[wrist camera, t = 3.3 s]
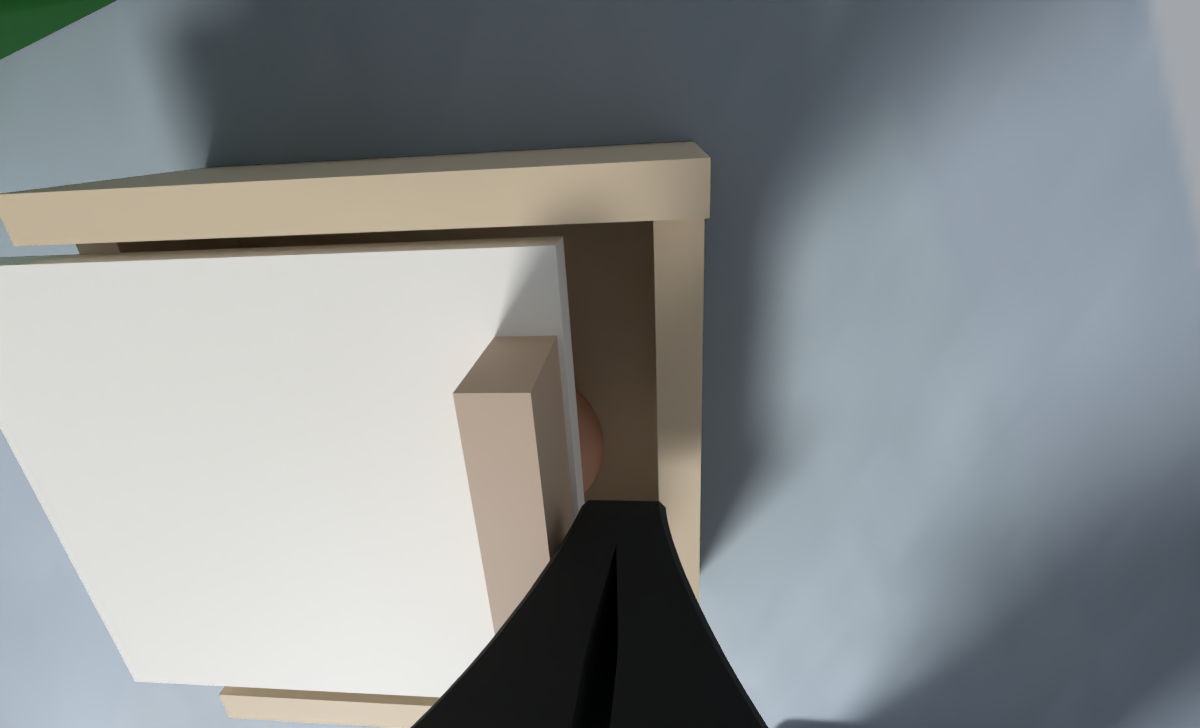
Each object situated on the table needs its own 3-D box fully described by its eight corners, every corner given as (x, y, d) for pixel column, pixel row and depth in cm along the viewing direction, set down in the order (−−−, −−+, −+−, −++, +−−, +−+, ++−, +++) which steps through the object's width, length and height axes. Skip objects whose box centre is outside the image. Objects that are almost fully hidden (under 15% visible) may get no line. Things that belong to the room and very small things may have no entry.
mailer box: (690, 586, 17) (699, 746, 13) (330, 575, 18) (229, 718, 14) (693, 140, 12) (711, 158, 8) (203, 167, 13) (-10, 194, 9)
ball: (611, 464, 15) (600, 546, 12) (495, 464, 15) (458, 543, 12) (606, 354, 13) (591, 417, 11) (480, 356, 14) (435, 418, 11)
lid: (598, 676, 13) (583, 808, 11) (158, 655, 14) (52, 770, 12) (562, 236, 9) (526, 283, 7) (-39, 258, 10) (-258, 305, 8)
